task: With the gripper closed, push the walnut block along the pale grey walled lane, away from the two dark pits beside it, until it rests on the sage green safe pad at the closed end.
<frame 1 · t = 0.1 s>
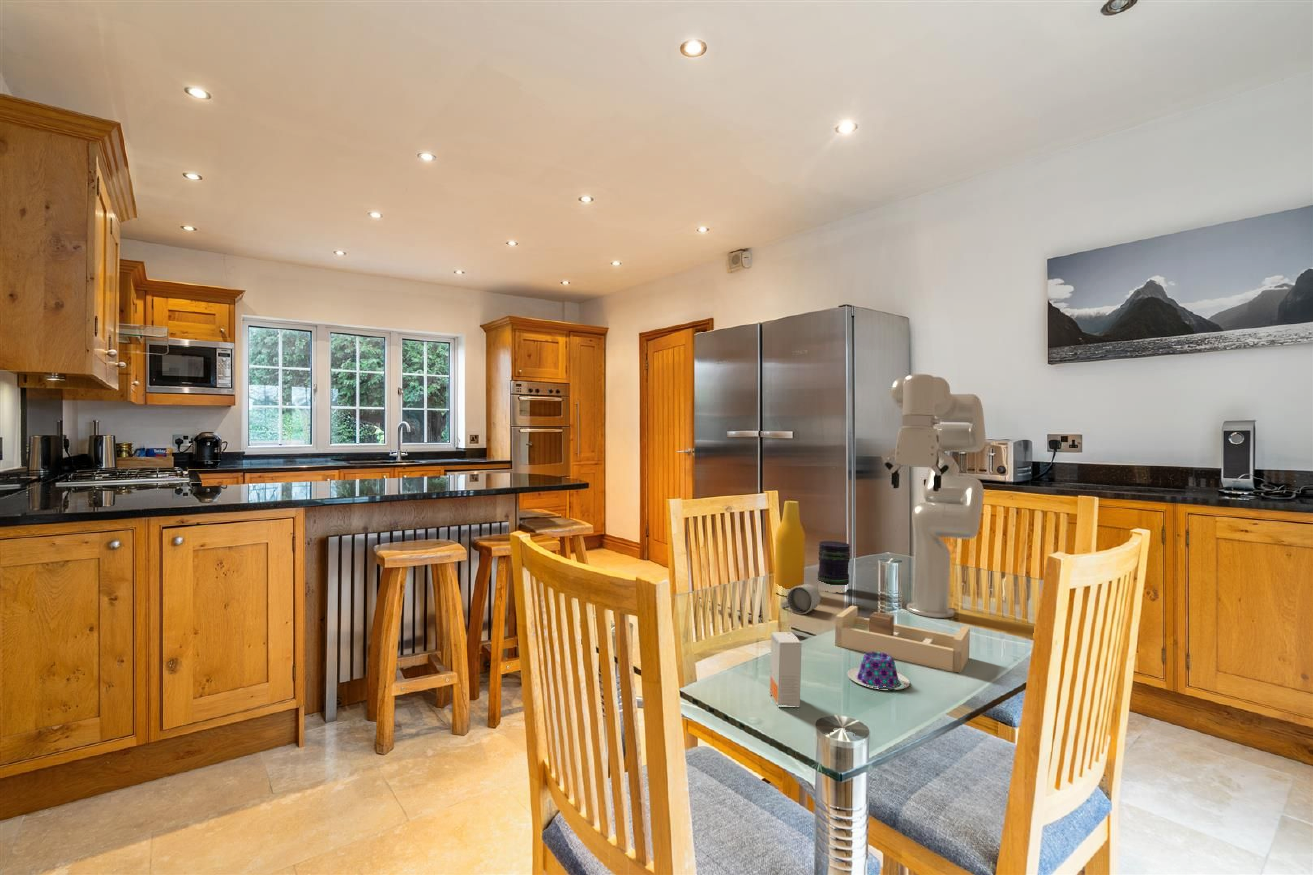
hand: (915, 489, 158), 37 cm above the table, tool pointing down, fingers open, 9 cm apart
beer bottle: (788, 594, 195), on the table
walnut block: (881, 634, 146), point 3 cm above the table, touching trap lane
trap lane: (900, 651, 144), on the table
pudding: (877, 682, 126), on the table
ceramic mug: (799, 611, 176), on the table
storage jar: (832, 590, 202), on the table
skincare box: (784, 702, 115), on the table
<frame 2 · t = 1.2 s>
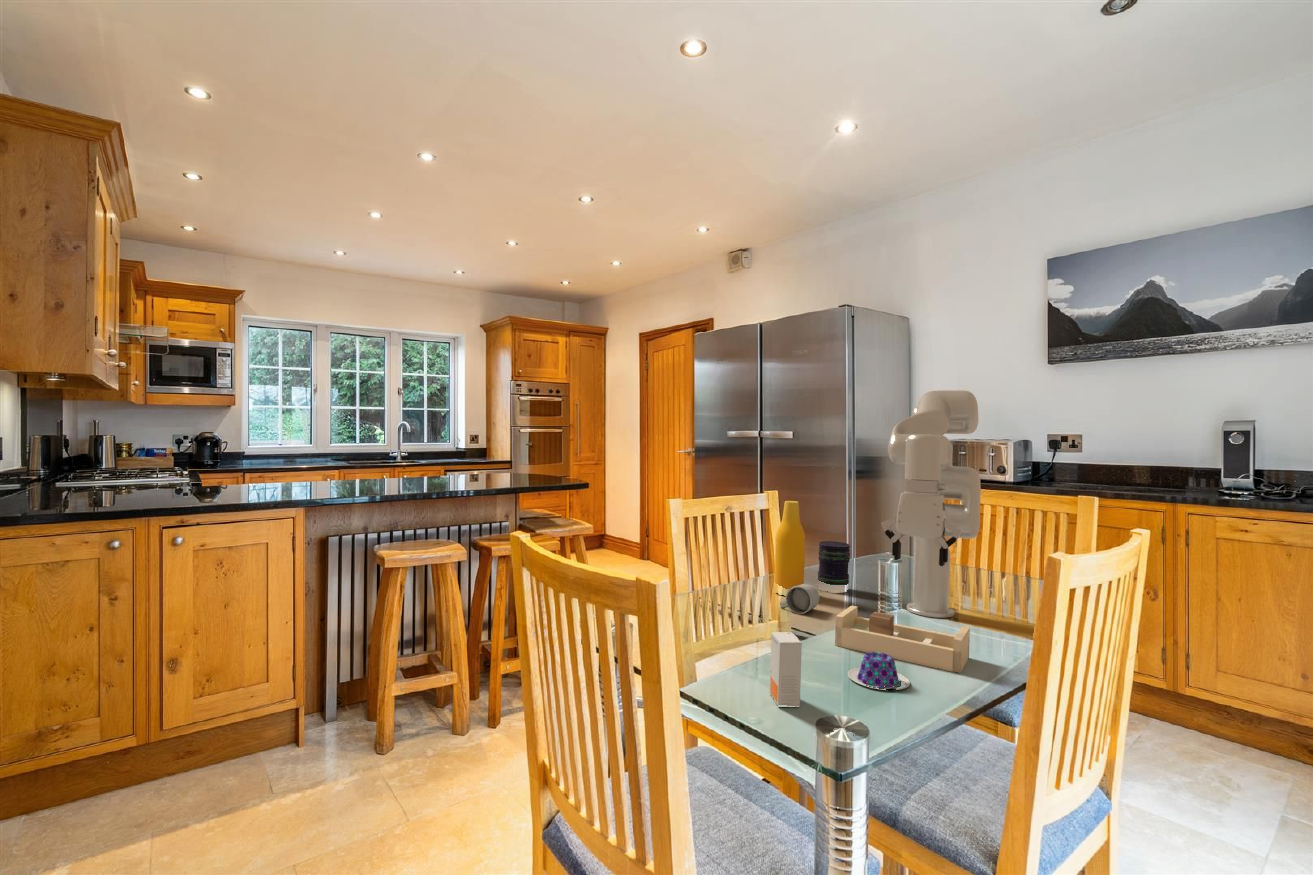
hand: (919, 562, 142), 21 cm above the table, tool pointing down, fingers open, 9 cm apart
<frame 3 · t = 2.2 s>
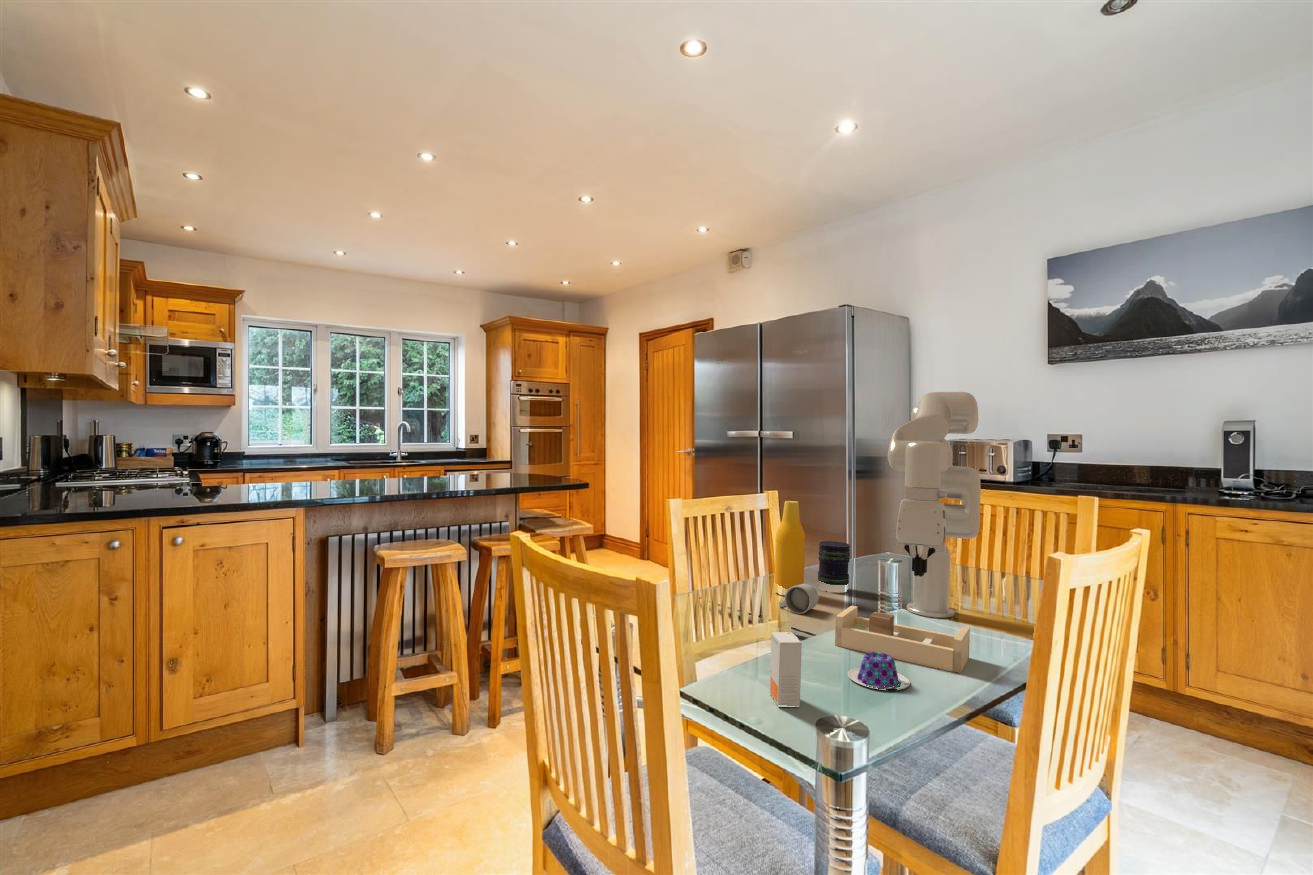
hand: (919, 575, 142), 18 cm above the table, tool pointing down, fingers closed
nothing on the table moved.
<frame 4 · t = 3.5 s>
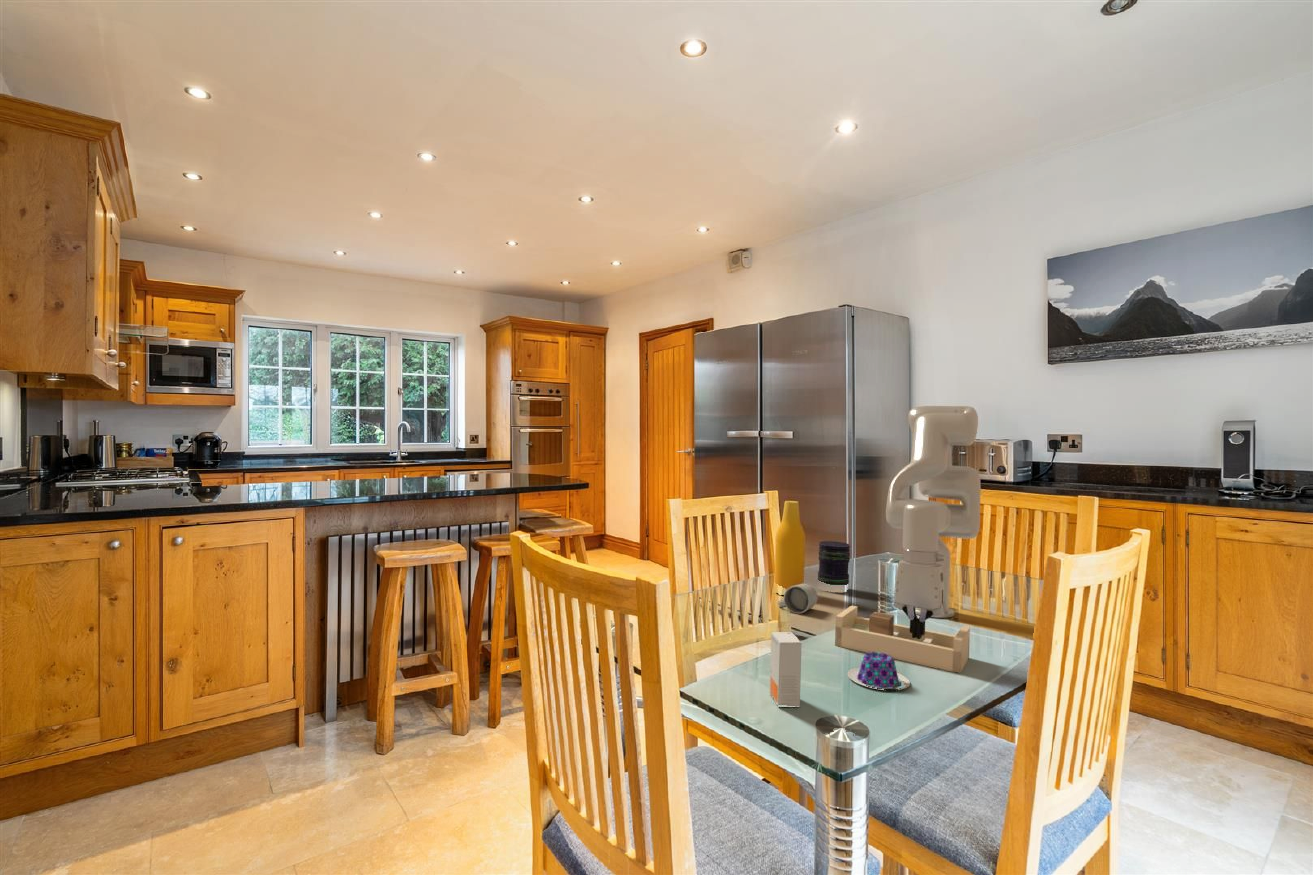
hand: (917, 636, 142), 4 cm above the table, tool pointing down, fingers closed
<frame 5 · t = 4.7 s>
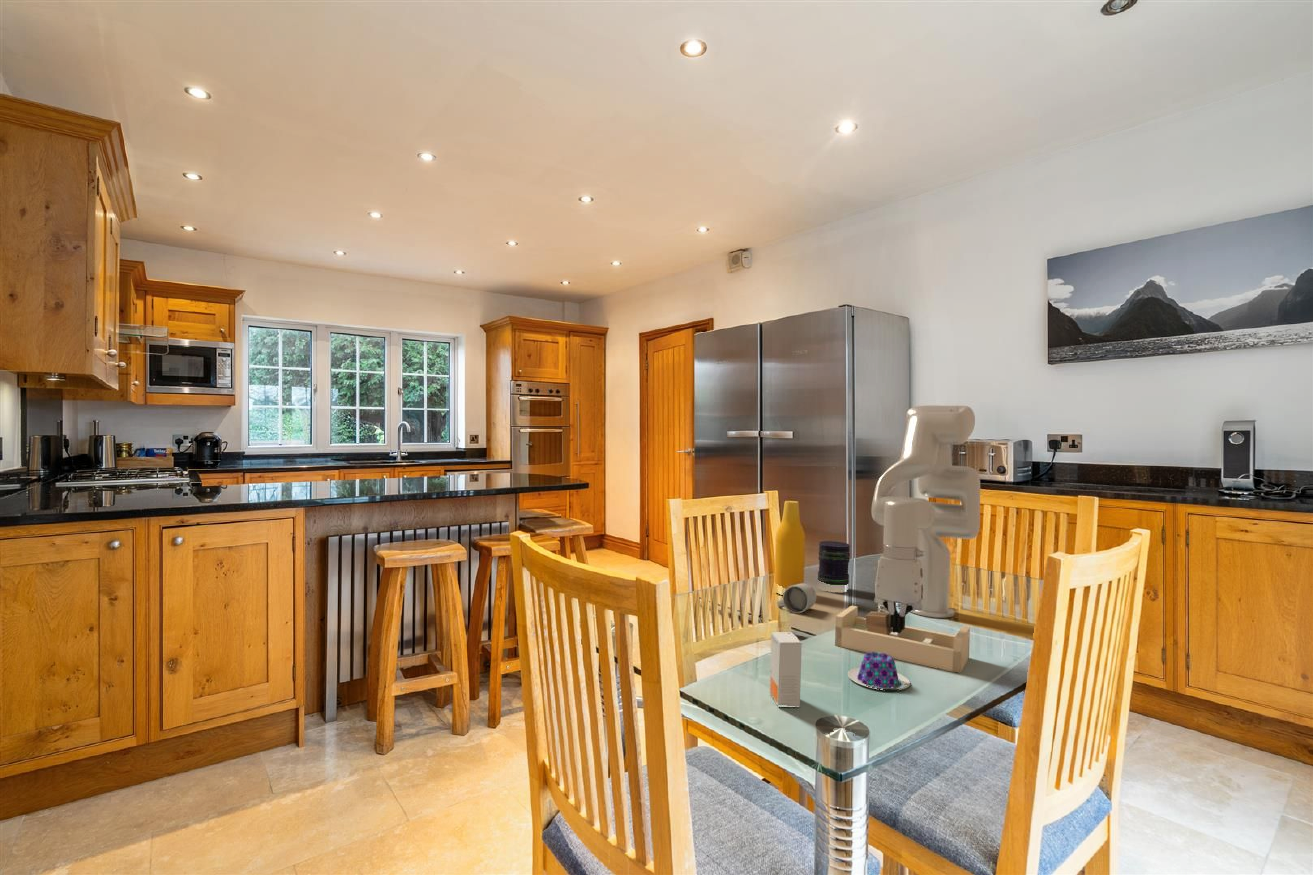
hand: (897, 631, 144), 5 cm above the table, tool pointing down, fingers closed
walnut block: (879, 633, 146), point 3 cm above the table, tilted 7°, touching gripper, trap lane
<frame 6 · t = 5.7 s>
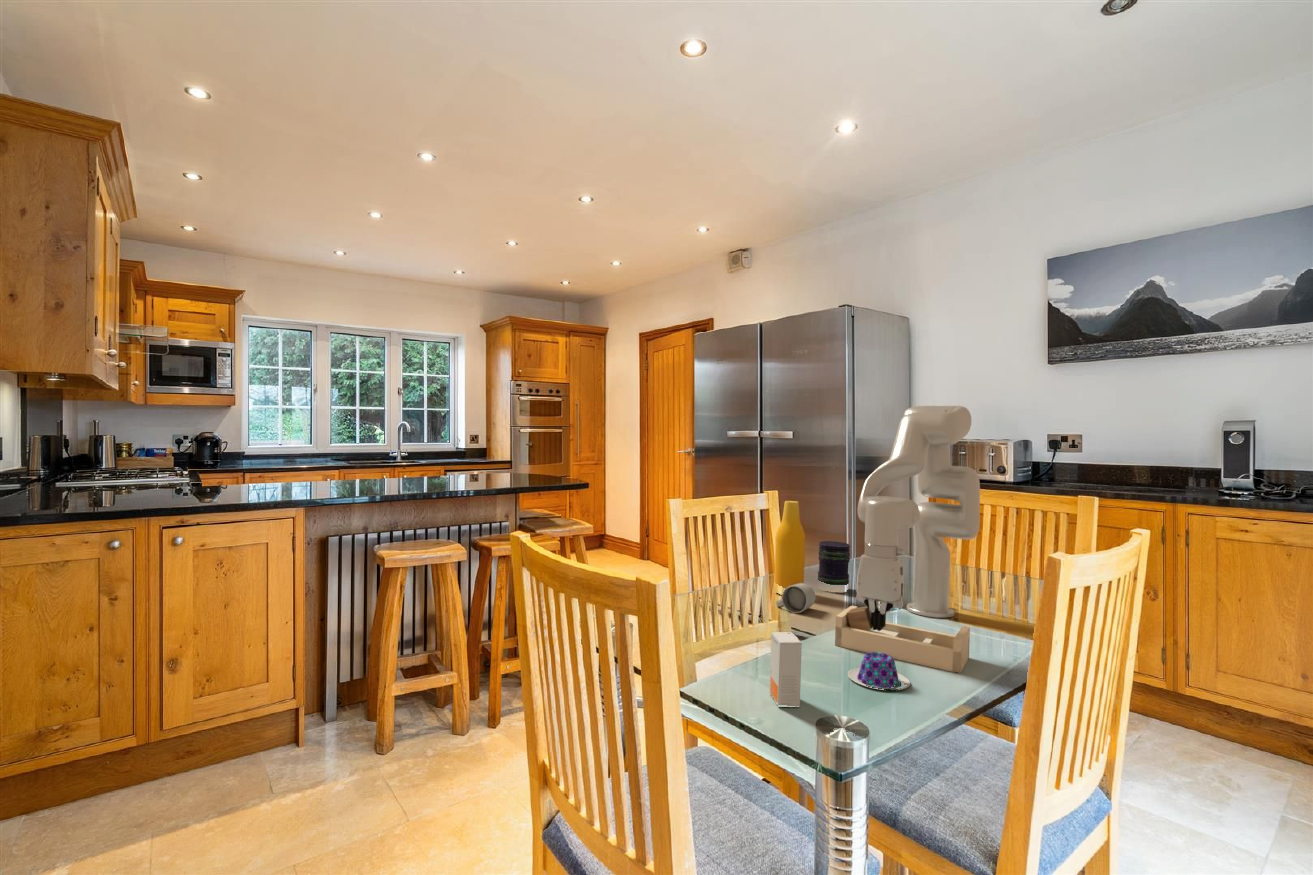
hand: (878, 628, 146), 4 cm above the table, tool pointing down, fingers closed
walnut block: (863, 628, 148), point 4 cm above the table, tilted 19°, touching gripper, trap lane
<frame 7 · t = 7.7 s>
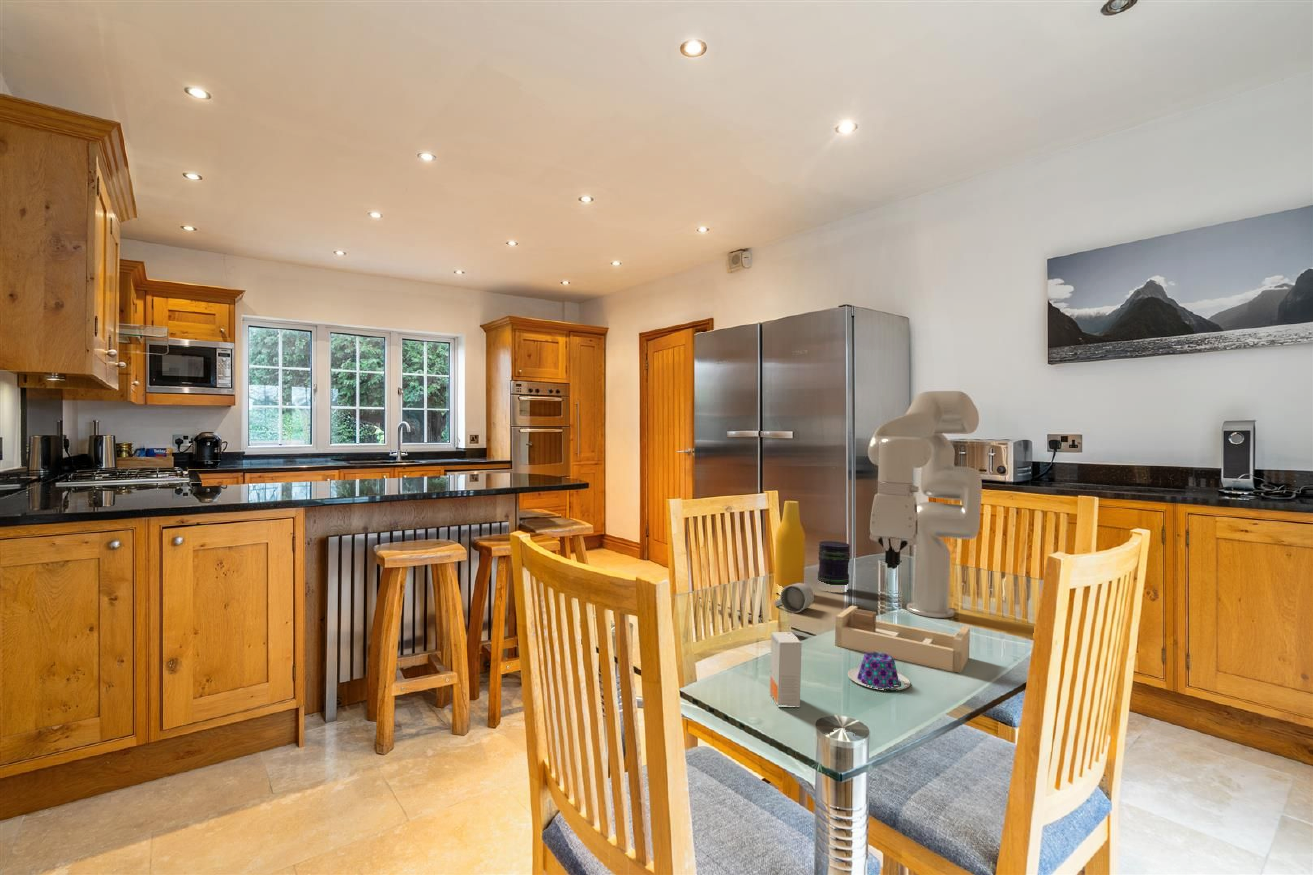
hand: (892, 567, 146), 19 cm above the table, tool pointing down, fingers closed
walnut block: (863, 631, 148), point 3 cm above the table, touching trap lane
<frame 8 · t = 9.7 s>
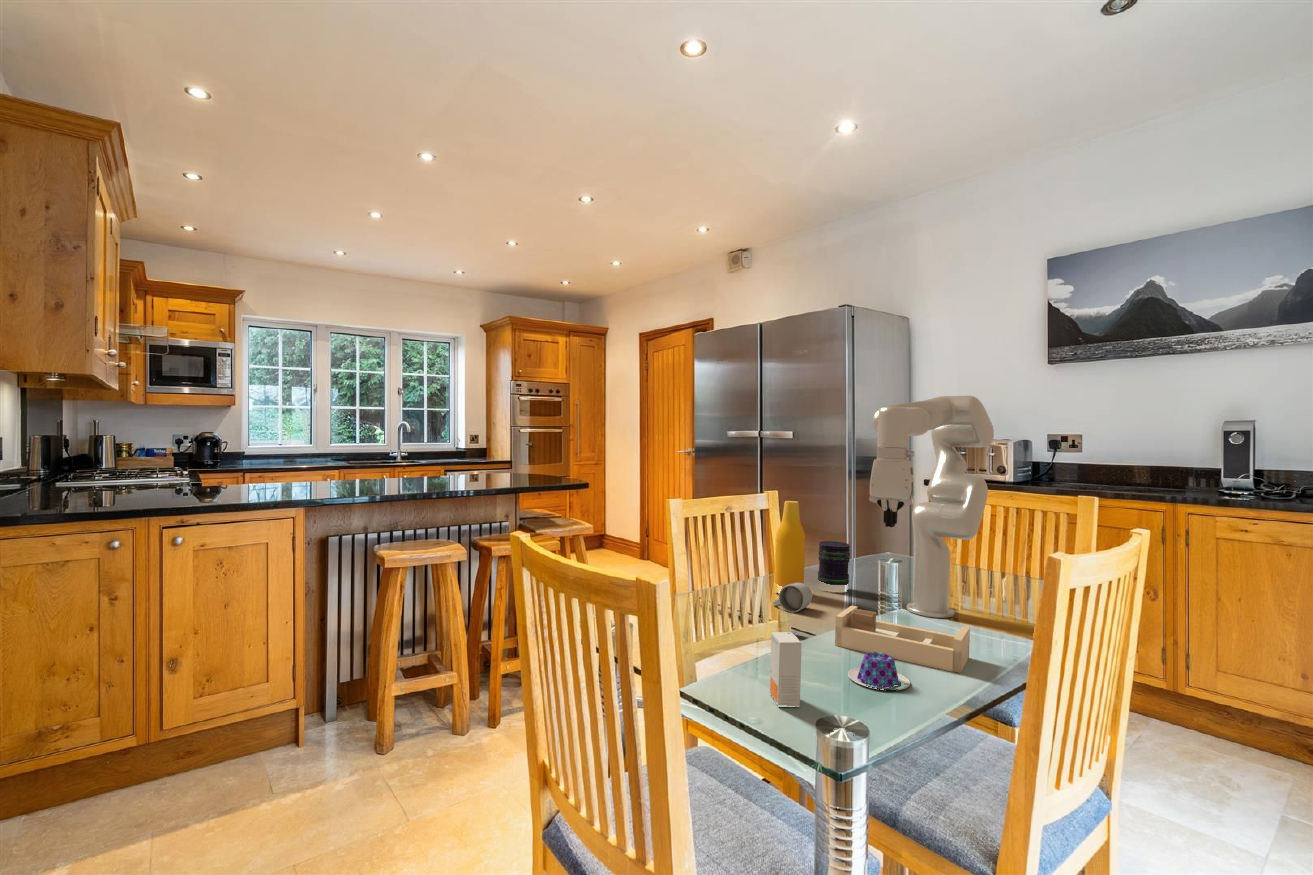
hand: (890, 526, 158), 27 cm above the table, tool pointing down, fingers closed
at the end: walnut block 1.4 cm from the target spot on the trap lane, point 3.0 cm above the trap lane's base; walnut block tilted 0° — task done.
